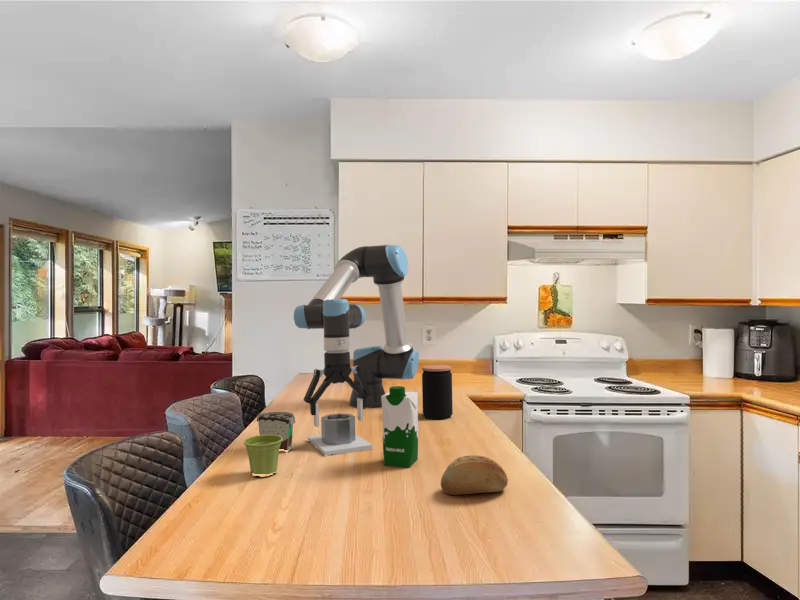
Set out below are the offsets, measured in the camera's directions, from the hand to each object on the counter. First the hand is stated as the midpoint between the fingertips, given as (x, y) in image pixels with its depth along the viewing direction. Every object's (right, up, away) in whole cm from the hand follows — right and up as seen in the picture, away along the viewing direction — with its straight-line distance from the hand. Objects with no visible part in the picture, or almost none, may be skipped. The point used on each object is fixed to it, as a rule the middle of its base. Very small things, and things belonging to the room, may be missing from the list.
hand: (338, 423), depth 158 cm
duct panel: (0, -6, 0) cm, 6 cm away
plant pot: (-16, -7, -25) cm, 31 cm away
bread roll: (+35, -6, -40) cm, 53 cm away
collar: (0, -5, 0) cm, 5 cm away
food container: (-17, -7, -3) cm, 18 cm away
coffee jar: (+32, -6, +34) cm, 46 cm away
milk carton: (+18, -6, -18) cm, 27 cm away
